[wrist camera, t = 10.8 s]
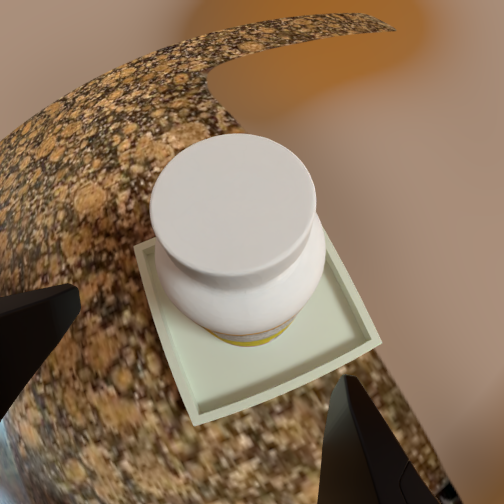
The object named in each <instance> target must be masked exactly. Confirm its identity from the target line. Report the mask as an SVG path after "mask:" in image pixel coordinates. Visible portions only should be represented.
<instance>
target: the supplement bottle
mask: <svg viewBox="0 0 504 504" xmlns="http://www.w3.org/2000/svg"><path fill="white" fill-rule="evenodd" d="M315 211H316V193H315V187H314V184H313V181H312V179H311V176H310V174H309V172H308V170H307V169H306V167H305V166H304V164H303V163H302V162H301V161H300V159H299V158H298V157H297V156H296V155H295V154H293V153H292V152H291V151H290V150H288V149H287V148H285V147H284V146H282V145H281V144H279V143H276V142H274V141H272V140H270V139H268V138H264V137H260V136H256V135H250V134H226V135H219V136H215V137H211V138H208V139H205V140H202V141H200V142H197V143H195V144H193V145H191V146H189V147H188V148H186V149H184V150H183V151H181V152H180V153H179V154H177V155H176V156H175V157H174V158H173V159H172V160H171V161H170V162H169V163H168V164H167V165H166V166H165V168H164V169H163V171H162V172H161V174H160V175H159V177H158V179H157V181H156V183H155V185H154V188H153V191H152V194H151V199H150V219H151V224H152V228H153V231H154V233H155V235H156V242H155V264H156V270H157V274H158V277H159V280H160V283H161V285H162V287H163V289H164V291H165V293H166V294H167V296H168V297H169V299H170V300H171V301H172V303H173V304H174V305H175V306H176V307H177V309H179V310H180V311H181V312H182V313H183V314H184V315H185V316H187V317H188V318H189V319H191V320H192V321H193V322H195V323H196V324H198V325H199V326H201V327H202V328H204V329H205V330H207V331H208V332H209V333H211V334H212V335H214V336H215V337H217V338H218V339H220V340H222V341H224V342H226V343H228V344H231V345H234V346H239V347H255V346H260V345H263V344H266V343H269V342H271V341H272V340H274V339H276V338H277V337H278V336H280V335H281V334H282V333H283V332H284V331H285V330H286V329H287V328H288V327H289V325H290V324H291V323H292V322H293V320H294V319H295V318H296V316H297V315H298V313H299V312H300V311H301V309H302V308H303V307H304V306H305V304H306V303H307V302H308V300H309V299H310V297H311V296H312V294H313V293H314V291H315V289H316V288H317V286H318V284H319V281H320V279H321V276H322V273H323V269H324V264H325V255H326V245H325V237H324V232H323V228H322V225H321V222H320V220H319V217H318V215H317V214H316V212H315Z"/></svg>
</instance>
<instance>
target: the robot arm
mask: <svg viewBox="0 0 504 504" xmlns="http://www.w3.org/2000/svg"><path fill="white" fill-rule="evenodd" d="M80 309H81V304H80V296H79V290H78V288H77V287H76V286H74V285H72V284H69V283H67V284H62V285H57V286H52V287H48V288H43V289H38V290H33V291H28V292H24V293H19V294H14V295H9V296H5V297H0V422H1V420H2V418H3V417H4V415H5V414H6V412H7V411H8V410H9V408H10V407H11V405H12V404H13V402H14V401H15V399H16V398H17V397H18V395H19V394H20V393H21V391H22V390H23V388H24V387H25V386H26V384H27V383H28V382H29V380H30V379H31V378H32V376H33V375H34V374H35V372H36V371H37V370H38V368H39V367H40V366H41V365H42V363H43V362H44V361H45V359H46V358H47V357H48V356H49V354H50V353H51V352H52V351H53V349H54V348H55V347H56V346H57V344H58V343H59V342H60V340H61V339H62V337H63V336H64V334H65V333H66V331H67V330H68V328H69V327H70V325H71V324H72V322H73V321H74V320H75V318H76V317H77V315H78V314H79V312H80ZM317 504H441V503H440V502H439V500H438V499H437V498H436V497H435V495H434V494H433V493H432V492H431V490H430V489H429V488H428V486H427V485H426V483H425V482H424V481H423V479H422V478H421V476H420V475H419V473H418V472H417V470H416V469H415V467H414V465H413V464H412V462H411V461H409V458H408V456H407V454H406V453H405V451H404V450H403V448H402V447H401V445H400V443H399V442H398V440H397V439H396V437H395V435H394V434H393V432H392V431H391V429H390V428H389V426H388V425H387V423H386V421H385V420H384V418H383V417H382V415H381V414H380V412H379V411H378V409H377V407H376V406H375V404H374V403H373V401H372V400H371V398H370V397H369V395H368V394H367V392H366V391H365V389H364V388H363V386H362V384H361V383H360V381H359V380H358V378H357V377H356V376H352V375H347V374H344V375H342V376H341V378H340V379H339V381H338V383H337V385H336V386H335V388H334V390H333V392H332V394H331V398H330V404H329V410H328V416H327V422H326V427H325V432H324V438H323V447H322V461H321V472H320V483H319V493H318V502H317Z"/></svg>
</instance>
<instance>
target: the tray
mask: <svg viewBox="0 0 504 504" xmlns="http://www.w3.org/2000/svg"><path fill="white" fill-rule="evenodd" d="M322 228H323V226H322ZM323 232H324V237H325V245H326V255H325V264H324V269H323V273H322V276H321V279H320V281H319V284H318V286H317V288H316V289H315V291H314V293H313V294H312V296H311V297H310V299H309V300H308V302H307V303H306V304H305V306H304V307H303V308H302V309H301V311H300V312H299V313H298V315H297V316H296V318H295V319H294V320H293V322H292V323H291V324H290V325H289V327H288V328H287V329H286V330H285V331H284V332H283V333H282V334H281V335H280V336H278V337H277V338H276V339H274V340H272V341H271V342H269V343H266V344H263V345H260V346H255V347H239V346H234V345H231V344H228V343H226V342H224V341H222V340H220V339H218V338H217V337H215V336H214V335H212V334H211V333H209V332H208V331H207V330H205V329H204V328H202V327H201V326H199V325H198V324H196V323H195V322H193V321H192V320H191V319H189V318H188V317H187V316H185V315H184V314H183V313H182V312H181V311H180V310H179V309H177V307H176V306H175V305H174V304H173V303H172V301H171V300H170V299H169V297H168V296H167V294H166V293H165V291H164V289H163V287H162V285H161V283H160V280H159V277H158V274H157V270H156V264H155V242H156V237H154V238H152V239H149V240H147V241H145V242H142V243H140V244H137V245H135V246H133V247H134V251H135V256H136V260H137V263H138V267H139V271H140V275H141V279H142V282H143V286H144V289H145V293H146V296H147V300H148V303H149V307H150V310H151V313H152V316H153V320H154V323H155V326H156V329H157V332H158V335H159V338H160V341H161V344H162V347H163V350H164V352H165V355H166V358H167V361H168V364H169V366H170V369H171V372H172V374H173V377H174V380H175V382H176V385H177V387H178V390H179V392H180V395H181V397H182V400H183V402H184V405H185V407H186V409H187V412H188V414H189V416H190V419H191V421H192V423H193V425H194V426H197V425H200V424H203V423H206V422H209V421H213V420H216V419H219V418H222V417H224V416H227V415H230V414H233V413H236V412H239V411H241V410H244V409H247V408H249V407H252V406H255V405H257V404H260V403H262V402H265V401H267V400H270V399H272V398H274V397H277V396H279V395H282V394H284V393H286V392H288V391H291V390H293V389H295V388H297V387H300V386H302V385H304V384H306V383H308V382H310V381H313V380H315V379H317V378H319V377H321V376H323V375H325V374H327V373H329V372H331V371H333V370H335V369H337V368H339V367H341V366H343V365H344V364H346V363H348V362H350V361H352V360H354V359H356V358H357V357H359V356H361V355H363V354H365V353H366V352H368V351H370V350H372V349H373V348H375V347H377V346H378V345H380V344H382V341H381V339H380V337H379V335H378V332H377V330H376V328H375V326H374V324H373V322H372V320H371V318H370V316H369V314H368V312H367V310H366V307H365V306H364V303H363V302H362V299H361V297H360V295H359V294H358V292H357V290H356V288H355V286H354V284H353V282H352V280H351V278H350V276H349V274H348V272H347V270H346V268H345V267H344V265H343V263H342V261H341V259H340V257H339V255H338V253H337V252H336V250H335V248H334V246H333V244H332V243H331V241H330V239H329V237H328V236H327V234H326V232H325V230H324V228H323Z"/></svg>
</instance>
